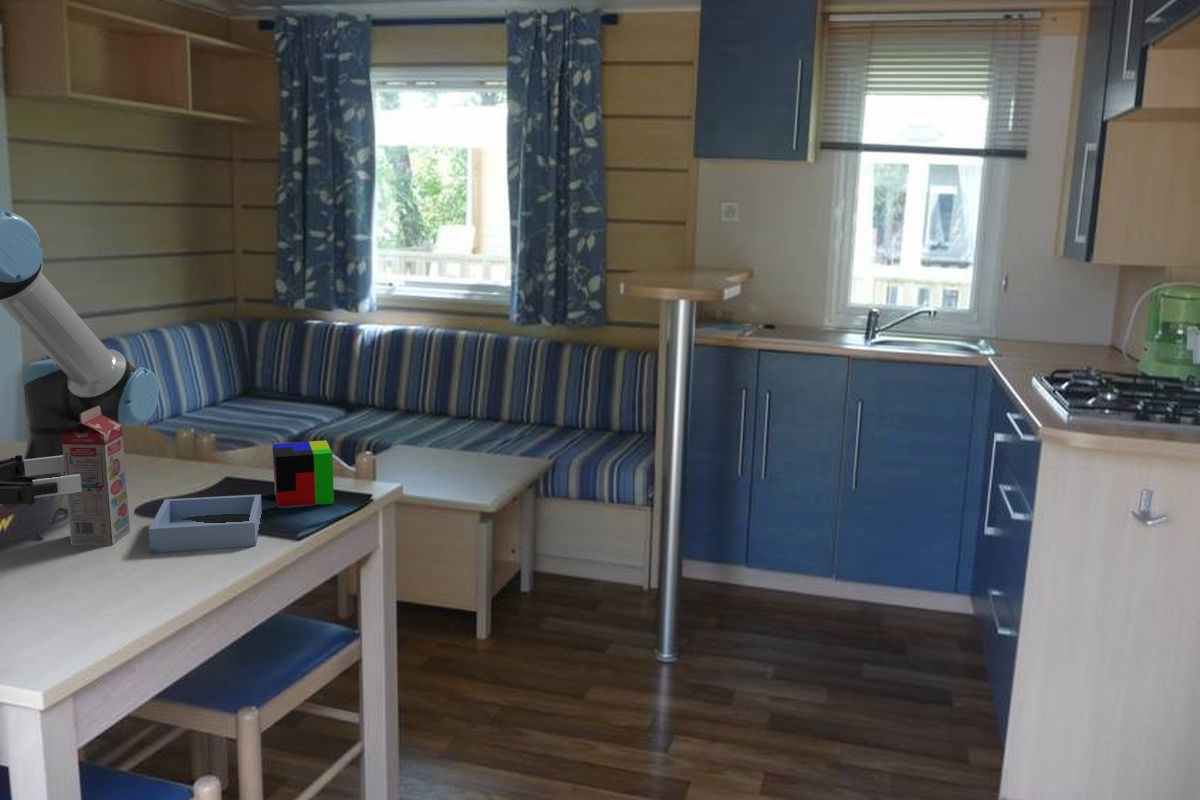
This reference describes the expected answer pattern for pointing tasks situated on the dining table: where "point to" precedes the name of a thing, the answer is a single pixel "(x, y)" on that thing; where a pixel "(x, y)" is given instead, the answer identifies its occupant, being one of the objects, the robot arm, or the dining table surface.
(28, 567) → the dining table surface
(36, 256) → the robot arm
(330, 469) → the puzzle toy
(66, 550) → the dining table surface
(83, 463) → the juice carton
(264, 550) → the dining table surface
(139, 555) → the dining table surface
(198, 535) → the bin
